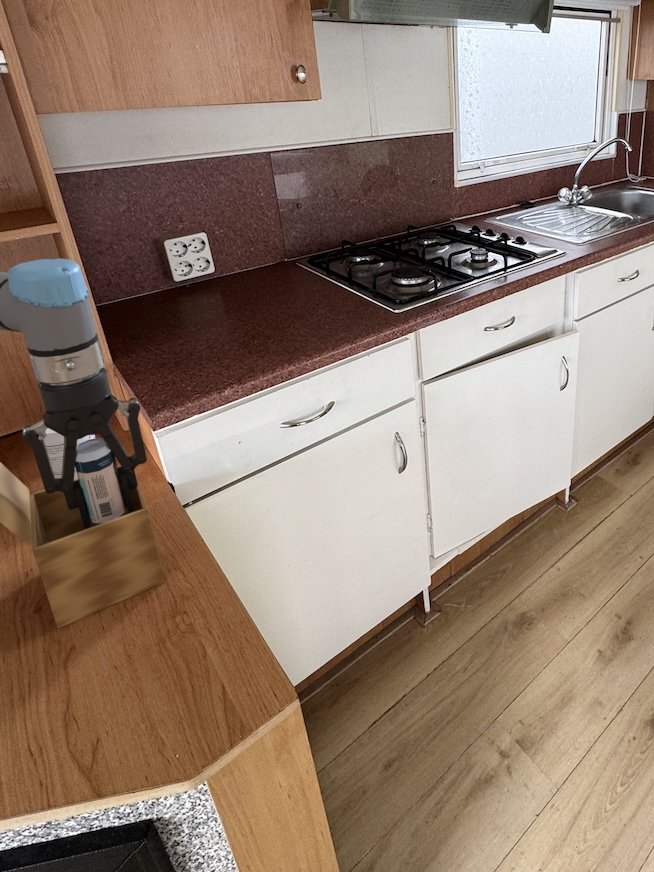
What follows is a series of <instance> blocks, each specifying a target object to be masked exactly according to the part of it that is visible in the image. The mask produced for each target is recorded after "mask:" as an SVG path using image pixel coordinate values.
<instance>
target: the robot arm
mask: <svg viewBox="0 0 654 872" xmlns="http://www.w3.org/2000/svg"><path fill="white" fill-rule="evenodd" d="M89 290H90V289H89V288H88V286H87V284H86V281H85V279H84V275H83V273H82V269H81V267H80V265H79V264H78V263H77V262H76V261H74V260H71V259H68V258H42V259H35V260H29V261H25V262H21V263H19V264H16V265H14V266H12V267H10V269H8V271H7V272H4V271H0V331H1V330H2V331H9V332H16V333H22V334H23V338H24V340H25V343H26V347H27V351H28V354H29V358H30V362H31V365H32V368H33V372H34V376H35V379H36V380H37V381H38V382H39V383H38V386H37V387H38V390H39V393H40V397H41V400H42V404H43V408H44V414H43V417H42V420H40V421H39V422H37V423H35V424H33V425H32V424H27V425H24V426H23V427H22V440H23V441H24V442H25V443H26V444H27V445H28V446H29V447H30V448H31V449H32V452H33V455H34V458H35V461H36V466H37V468H38V472H39V475H40V478H41V482H42V485H43V488H44V489H45V492H46V493H48V494H51V493H54V492H55V491H61V492H63V493H64V495H65V499H66V502H67V506H68V508H69V509H70V510H72V509H75V508H78V507H79V511H80V514H81V518H82V521H83V525H84V528H85V529H86V528H88V527H91V525H90V520H89V515H88V511H87V508H86V504H85V500H84V497H83V493H82V490H81V486H80V482H79V480H76V481H74V472H75V458H76V447H77V440H78V439H81V438H83V437H85V436H87V435H95V436H96V435H100V436H101V437H100V438H103V439H104V440H105V442H106V443H107V445H108V447H109V448H110V450H111V451H112V453H113V454H114V456H115V460H116V461H117V462H118V463H119V466H120V465H121V466H120V467H117V468H118V472H119V476H120V480H121V484H122V488H123V492H124V496H125V500H126V504H127V508H128V512H129V513H130V512H133V511H135V510H134V506H133V502H132V498H131V494H130V489H133V488H136V487H137V485H138V483H137V479H136V475H137V474H136V475H135V472H136V468H137V467H138V466H139V465H144V464H146V463H147V461H148V458H147V453H146V448H145V445H144V440H143V436H142V431H141V427H140V423H139V415H140V412H141V405H140V403H139V401H138V398H136V397H130V398H128V400H123V399H121V400H120V399H119V400H118V399H117V397H116V396H114V395H113V392H112V390H111V389H112V388H111V386H110V380H109V378H108V376H109V375H108V373H107V370H106V368H105V367H104V366H105V360H104V355H103V351H102V348H101V344H100V339H99V336H98V331H97V327H96V323H95V318H94V314H93V309H92V305H91V301H90V294H89V293H90V291H89ZM118 410H120V413H121V415H122V416H123V417H125V418H126V421H127V426H128V431H129V436H130V439H131V445H132V448H133V451H134V453H133V454H132V455H130V454H129V453H128V452H127V450H126V449H125V447H124V445H123V444H122V442H121V440H120V439H119V438H118V436H117V435H116V433H115V432H114V430H113V428H112V427H111V424H110V422H111V421H112V419H113V417H114V415H115V414H116V412H117V411H118ZM47 428H49V429H51V430H53V431H55V432H57V433H58V434H60V435H62V436H64V449H63V464H62V478H55V477H54V473H53V470H52V467H51V463H50V460H49V456H48V453H47V449H46V446H45V443H44V438H45V437H46V429H47ZM44 489H43V490H44Z"/></svg>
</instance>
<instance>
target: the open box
mask: <svg viewBox="0 0 654 872" xmlns="http://www.w3.org/2000/svg"><path fill="white" fill-rule="evenodd" d="M120 466H121V465H120V464H119V465H117V467H120ZM135 475H136V479H137V483H138V485H137V487H136V488H133V489H130V494H131V498H132V502H133V506H134V510H135V511H133V512H130V513H129V512H128V508H127V509H126V511H125V512H124V513H123V514H122V515H121V516H119V517H118V518H116V519H113V520H110V521H108V522H105V523H93V522H91V521H90V525H91V527H88V528H86V529H85V528H84V525H83V521H82V518H81V514H80V511H79V507H78V508H75V509H72V510H70V509H69V508H68V506H67V502H66V499H65V495H64V493H63V492H61V491H55V492H54V493H51V494H48V493H46V492H45V489H41V490H38V491H34V492H31V493H29V496H30V514H31V531H32V546H31V547H32V548H31V549H32V554H33V557H34V560H35V563H36V566H37V569H38V573H39V575H40V579H41V582H42V585H43V587H44V588H43V589H44V591H45V593H46V597H47V600H48V603H49V606H50V609H51V612H52V615H53V619H54V622H55V625H56V628H57V629H61V628H63V627H66V626H67V625H69V624H72V623H74V622H77V621H80V620H81V619H84V618H86V617H89V616H90V615H93V614H95V613H97V612H100V611H102V610H104V609H106V608H108V607H112V606H113V605H116V604H118V603H120V602H123V601H125V600H127V599H129V598H131V597H134V596H137V595H139V594H141V593H143V592H145V591H147V590H150V589H152V588H154V587H157V586H159V585H161V584H164V583H165V579H164V573H163V570H162V565H161V561H160V556H159V552H158V547H157V544H156V543H157V542H156V539H155V535H154V530H153V526H152V522H151V517H150V513H149V509H148V506H147V502H146V499H145V497H144V494H143V491H142V488H141V485H140V482H139V479H138V476H137V473H136V471H135ZM76 480H79V479H76ZM76 480H74V481H76Z"/></svg>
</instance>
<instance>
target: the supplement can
mask: <svg viewBox="0 0 654 872" xmlns="http://www.w3.org/2000/svg"><path fill="white" fill-rule="evenodd" d="M95 438H96V434H95V435H87V436H85V437H83V438H81V439H78V440H77V446H78V445H79V444H80V443H82V442H85V441H87V440H90V439H95ZM44 443H45V446H46V449H47V453H48V456H49V460H50V463H51V467H52V470H53V473H54V477H55V478H62V464H63V449H64V436H62V435H60V434H58V433H57V432H55V431H53V430H51V429H49V428H47V429H46V437H45V438H44ZM76 479H78V475H77V471H76V468H75V472H74V480H76Z"/></svg>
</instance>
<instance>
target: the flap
mask: <svg viewBox="0 0 654 872" xmlns="http://www.w3.org/2000/svg"><path fill="white" fill-rule="evenodd" d="M29 494H30V489H29V488H28V487H27V486H26V485H25V484H24V483H23V482H22V481H21V480H20V479H19V478H17V476H15V474H13V473H12V472H11V471H10V469H8V467H6V466H5V465H4V464H3V463H2V461H0V524H1V525H3V526H4V528H6V529H7V530H8V531H9V532H11V533H12V534H13V535H14V536H15V537H16V538H17V539H18V540H20V541H21V542H22V543H24V545H25V546H27V547H28V548H31V547H32V531H31V514H30V496H29Z"/></svg>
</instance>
